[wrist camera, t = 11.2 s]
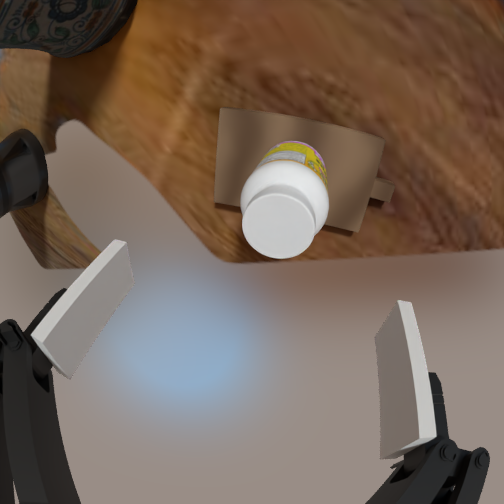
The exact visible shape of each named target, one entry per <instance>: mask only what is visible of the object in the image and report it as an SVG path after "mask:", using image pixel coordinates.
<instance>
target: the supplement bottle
mask: <svg viewBox="0 0 504 504" xmlns="http://www.w3.org/2000/svg"><path fill="white" fill-rule="evenodd" d="M240 204H241V211H242V215H243V219H242V229H243V233H244V236H245V238H246V240H247V241H248V243H249V244H250V245H251V246H252V247H253V248H254V249H255V250H256V251H258V252H259V253H261V254H263V255H265V256H268V257H272V258H278V259H284V258H290V257H294V256H296V255H299V254H300V253H302V252H303V251H305V250H306V249H307V248H308V247H309V245H310V244H311V242H312V240H313V238H314V236H315V235H316V234H317V233H318V232H319V231H320V229H321V228H322V227H323V225H324V223H325V221H326V218H327V215H328V210H329V197H328V186H327V175H326V168H325V164H324V161H323V159H322V157H321V156H320V154H319V153H318V152H317V151H316V150H315V149H314V148H313V147H311V146H309V145H308V144H305V143H303V142H299V141H286V142H282V143H279V144H277V145H276V146H274V147H273V148H271V149H270V150H269V151H268V152H267V154H266V155H265V156H264V158H263V159H262V160H261V162H260V163H259V164H258V166H257V167H256V169H255V170H254V171H253V173H252V174H251V175H250V176H249V178H248V179H247V181H246V183H245V185H244V187H243V189H242V193H241V200H240Z"/></svg>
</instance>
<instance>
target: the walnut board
mask: <svg viewBox="0 0 504 504" xmlns="http://www.w3.org/2000/svg"><path fill="white" fill-rule="evenodd" d="M286 141H299V142H303V143H305V144H308V145H309V146H311V147H313V148H314V149H315V150H316V151H317V152H318V153H319V154H320V156H321V157H322V159H323V161H324V164H325V168H326V175H327V186H328V197H329V210H328V215H327V218H326V221H325V223H324V224H325V225H329V226H333V227H338V228H342V229H346V230H350V231H354V232H359V229H360V226H361V223H362V220H363V217H364V214H365V211H366V208H367V205H368V202H369V198H370V197H371V198H375V199H378V200H382V201H386V202H389V203H390V200H391V197H392V194H393V191H394V188H395V185H394V184H393V182H392V181H389V180H385V179H382V178H378V177H376V175H377V171H378V168H379V164H380V160H381V157H382V153H383V149H384V145H385V141H386V140H385V139H383V138H382V137H379V136H375V135H372V134H368V133H365V132H361V131H358V130H354V129H350V128H346V127H342V126H338V125H334V124H330V123H325V122H321V121H316V120H311V119H306V118H301V117H296V116H290V115H284V114H278V113H271V112H264V111H257V110H249V109H240V108H230V107H223V108H220V116H219V128H218V142H217V156H216V172H215V190H214V202H217V203H222V204H228V205H233V206H238V207H241V204H240V200H241V193H242V189H243V187H244V185H245V183H246V181H247V179H248V178H249V176H250V175H251V174H252V173H253V171H254V170H255V169H256V167H257V166H258V164H259V163H260V162H261V160H262V159H263V158H264V156H265V155H266V154H267V152H268V151H269V150H270V149H271V148H273V147H274V146H276V145H277V144H279V143H282V142H286Z"/></svg>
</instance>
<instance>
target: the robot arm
mask: <svg viewBox="0 0 504 504" xmlns="http://www.w3.org/2000/svg"><path fill="white" fill-rule="evenodd" d="M47 187H48V170H47V164H46V160H45V156H44V153H43V150H42V147H41V145H40V143H39V141H38V140H37V138H36V137H35V136H34V135H33V134H32V133H31V132H30V131H28V130H26V129H20V130H18V131H16V132H13V133H11V134H10V135H9V136H7V137H6V138H5V139H4V140H3V141H2V142H1V143H0V218H1V217H2V216H4V215H5V214H6V213H8V212H10V211H14V210H18V209H22V208H26V207H30V206H32V205H34V204H36V203H37V202H39V201H40V200H42V199H43V198H44V196H45V194H46V191H47ZM134 284H135V282H134V277H133V272H132V268H131V263H130V258H129V252H128V247H127V243H126V242H123V241H119V240H114V241H113V242H112V243H111V244H110V245H109V246H108V247H107V248H106V249H105V250H104V251H103V252H102V253H101V254H100V255H99V256H98V257H97V258H96V259H95V260H94V261H93V262H92V263H91V264H90V265H89V266H88V267H87V269H86V270H85V271H84V272H83V273H82V274H81V275H80V276H79V277H78V278H77V279H76V281H75V282H74V283H73V284H72V285H71V286H70V287H69V289H65V288H63V289H62V290H60V291H59V292H57V293H56V294H55V295H54V296H53V297H52V298H51V299H50V301H49V303H47V304H46V305H45V307H44V308H43V309H42V310H41V311H40V312H39V314H38V315H37V316H36V317H35V319H34V320H33V321H32V322H31V324H30V325H29V326H28V327H27V329H26V330H25V331H24V332H22V330H21V328H20V327H19V325H18V324H17V322H16V321H15V320H13V319H7V320H5V321H4V322H2V323H1V324H0V504H15V499H14V488H13V481H14V485H15V488H16V492H17V496H18V499H19V504H81V502H80V499H79V497H78V494H77V491H76V488H75V485H74V482H73V479H72V475H71V472H70V469H69V465H68V461H67V458H66V454H65V450H64V445H63V441H62V437H61V432H60V426H59V421H58V415H57V409H56V402H55V394H54V387H53V386H54V385H53V375H52V371H51V368H52V366H54V368H55V369H56V370H57V371H58V372H59V373H60V374H62V375H63V376H65V377H67V378H68V379H71V377H72V376H73V374H74V373H75V371H76V369H77V368H78V366H79V365H80V363H81V361H82V360H83V358H84V357H85V355H86V353H87V352H88V350H89V349H90V347H91V346H92V344H93V342H94V341H95V340H96V338H97V337H98V335H99V334H100V332H101V331H102V329H103V328H104V326H105V325H106V323H107V322H108V320H109V319H110V318H111V316H112V315H113V313H114V312H115V310H116V309H117V308H118V306H119V305H120V303H121V302H122V301H123V299H124V298H125V297H126V295H127V294H128V292H129V291H130V290H131V288H132V287H133V286H134ZM375 344H376V353H377V365H378V377H379V394H380V421H381V422H380V426H381V441H380V442H381V443H380V459H394V458H398V457H400V456H402V455H404V460H402V461H400V462H398V463H396V464H394V465H393V466H392V467H390V468H392V469H393V468H395V467H397V468H396V469H395V470H394V471H393V473H392V474H391V475H390V476H389V478H388V479H387V480H386V481H385V482H384V484H383V485H382V486H381V487H380V488H379V490H377V492H376V493H375V494H374V495H373V496H372V497H371V498H370V499H369V500H368V501H367V502H366V503H365V504H477V503H478V501H479V498H480V494H481V492H482V489H483V485H484V482H485V478H486V475H487V471H488V467H489V462H490V457H489V453H488V451H487V450H486V449H485V448H482V447H480V448H477V449H475V450H474V451H472V452H471V451H467V450H463V449H459V448H458V447H457V445H456V443H455V442H454V441H453V440H451V439H449V435H448V427H447V419H446V411H445V405H444V398H443V396H442V394H443V392H442V387H441V382H440V380H439V379H438V377H437V375H436V373H430V372H428V371H427V365H426V360H425V355H424V351H423V347H422V342H421V338H420V334H419V330H418V326H417V322H416V318H415V315H414V311H413V307H412V304H411V303H410V302H405V301H400V300H397V302H396V304H395V306H394V307H393V309H392V311H391V312H390V314H389V316H388V317H387V319H386V320H385V322H384V324H383V325H382V327H381V328H380V330H379V331H378V333H377V335H376V336H375ZM454 486H455V487H454ZM453 488H454V490H453Z"/></svg>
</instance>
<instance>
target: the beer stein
mask: <svg viewBox="0 0 504 504" xmlns="http://www.w3.org/2000/svg"><path fill="white" fill-rule="evenodd" d="M136 4H137V0H0V49H3V48H20V49H34V50H40V51H45V52H48V53H49V54H51V55H53V56H56V57H63V58H69V57H73V56H77V55H79V54H81V53H86V52H91V51H93V50H94V49H96V48H98V47H100V46H102V45H103V44H105V43H107V42H109V41H110V40H111V39H112V38H113V36H114V35H115V34H116V33H117V32H118V31H119V30H120V29H121V28H122V27H123V26H124V24H125V23H126V22H127V20H128V18H129V17H130V15H131V13H132V11H133V9H134V8H135V6H136Z"/></svg>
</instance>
